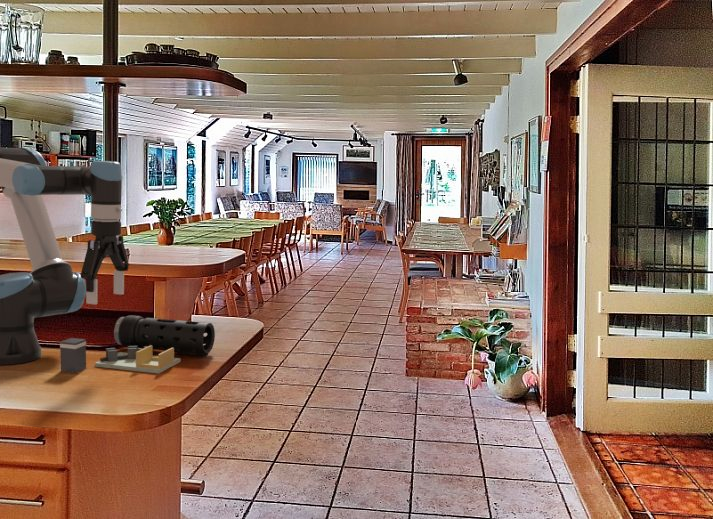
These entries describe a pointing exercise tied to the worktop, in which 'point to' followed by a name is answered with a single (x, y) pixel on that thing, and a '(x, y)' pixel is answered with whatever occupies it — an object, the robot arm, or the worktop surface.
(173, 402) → the worktop surface
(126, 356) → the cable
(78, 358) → the plug
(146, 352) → the end holder
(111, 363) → the board
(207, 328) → the muzzle brake
